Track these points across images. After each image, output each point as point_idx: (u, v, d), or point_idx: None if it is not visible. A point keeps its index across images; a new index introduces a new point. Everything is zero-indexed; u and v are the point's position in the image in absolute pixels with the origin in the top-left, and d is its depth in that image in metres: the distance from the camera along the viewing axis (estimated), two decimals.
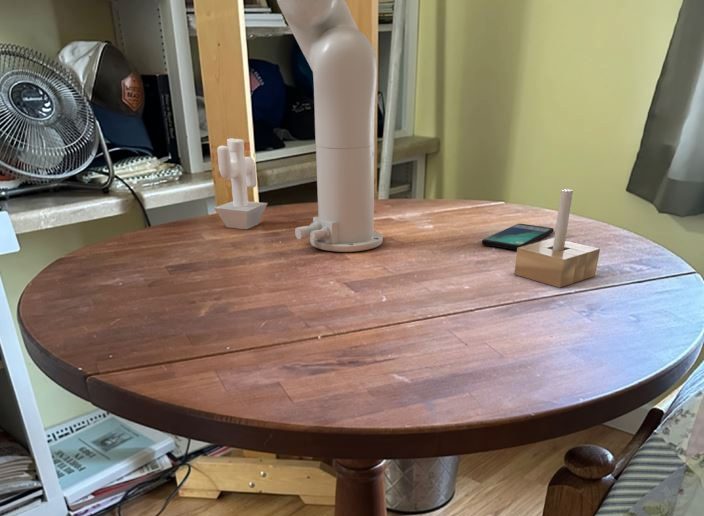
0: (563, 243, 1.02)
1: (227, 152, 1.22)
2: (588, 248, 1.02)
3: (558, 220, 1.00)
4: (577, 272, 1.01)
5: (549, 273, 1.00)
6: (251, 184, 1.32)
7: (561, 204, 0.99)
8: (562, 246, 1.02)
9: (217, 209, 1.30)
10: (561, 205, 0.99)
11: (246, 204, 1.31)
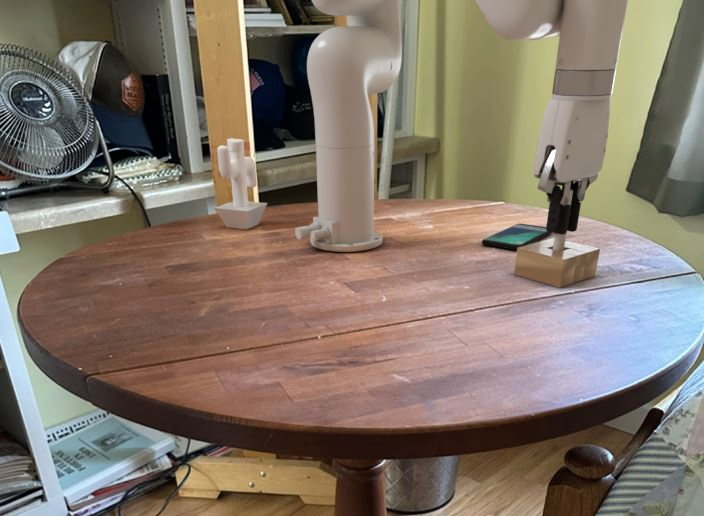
0: (563, 243, 1.02)
1: (227, 152, 1.22)
2: (588, 248, 1.02)
3: None
4: (577, 272, 1.01)
5: (549, 273, 1.00)
6: (251, 184, 1.32)
7: None
8: (562, 246, 1.02)
9: (217, 209, 1.30)
10: None
11: (246, 204, 1.31)
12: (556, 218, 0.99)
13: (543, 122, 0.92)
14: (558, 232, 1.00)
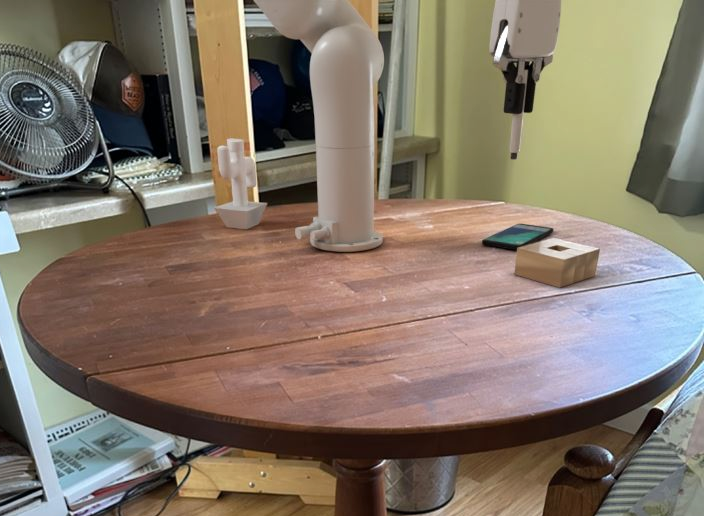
0: (521, 125, 1.06)
1: (227, 152, 1.22)
2: (588, 248, 1.02)
3: None
4: (577, 272, 1.01)
5: (549, 273, 1.00)
6: (251, 184, 1.32)
7: None
8: (519, 127, 1.06)
9: (217, 209, 1.30)
10: None
11: (246, 204, 1.31)
12: (512, 97, 1.03)
13: None
14: (514, 112, 1.04)
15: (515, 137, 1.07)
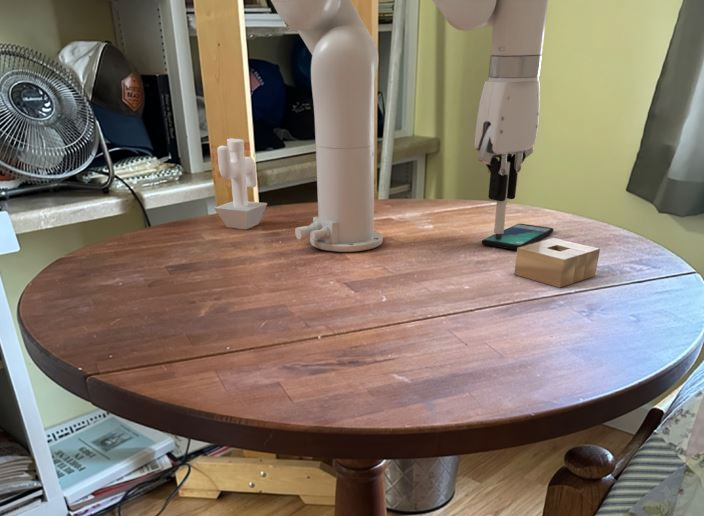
0: (504, 210, 1.15)
1: (227, 152, 1.22)
2: (588, 248, 1.02)
3: None
4: (577, 272, 1.01)
5: (549, 273, 1.00)
6: (251, 184, 1.32)
7: None
8: (503, 212, 1.16)
9: (217, 209, 1.30)
10: None
11: (246, 204, 1.31)
12: (496, 187, 1.13)
13: (480, 101, 1.06)
14: (498, 199, 1.14)
15: (499, 220, 1.16)
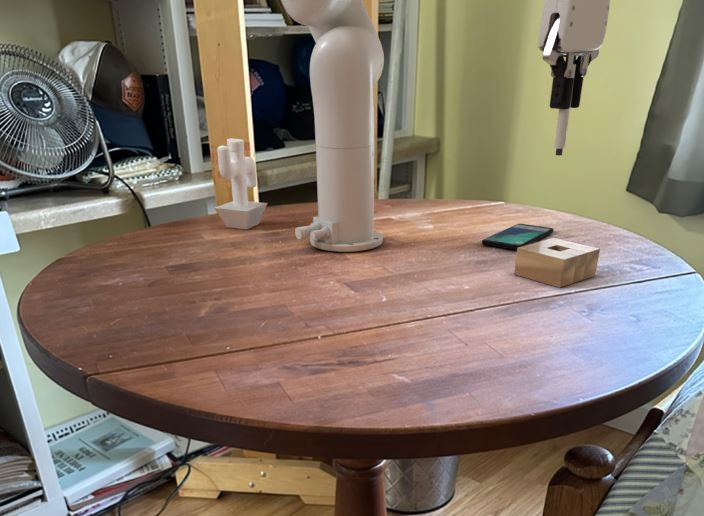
0: (567, 120, 1.04)
1: (227, 152, 1.22)
2: (588, 248, 1.02)
3: None
4: (577, 272, 1.01)
5: (549, 273, 1.00)
6: (251, 184, 1.32)
7: None
8: (566, 123, 1.04)
9: (217, 209, 1.30)
10: None
11: (246, 204, 1.31)
12: (560, 92, 1.01)
13: None
14: (561, 107, 1.03)
15: (561, 133, 1.05)
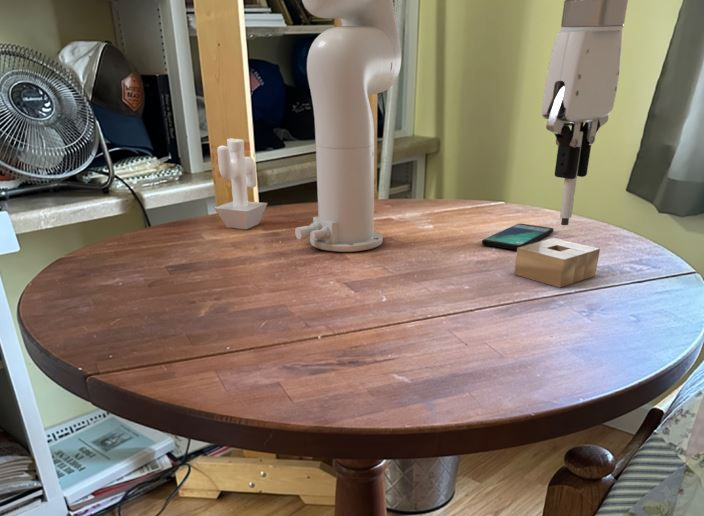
0: (574, 189, 0.97)
1: (227, 152, 1.22)
2: (588, 248, 1.02)
3: None
4: (577, 272, 1.01)
5: (549, 273, 1.00)
6: (251, 184, 1.32)
7: None
8: (572, 192, 0.97)
9: (217, 209, 1.30)
10: None
11: (246, 204, 1.31)
12: (565, 161, 0.94)
13: (552, 57, 0.88)
14: (567, 177, 0.96)
15: (567, 202, 0.98)
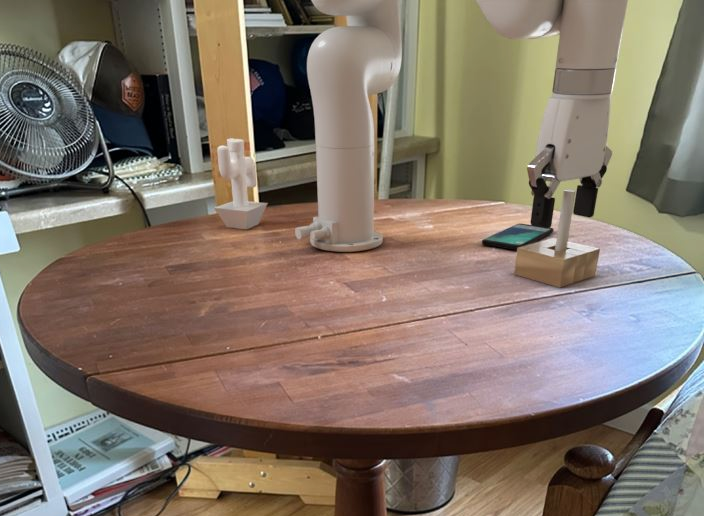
0: (566, 244, 1.01)
1: (227, 152, 1.22)
2: (588, 248, 1.02)
3: (560, 220, 1.00)
4: (577, 272, 1.01)
5: (549, 273, 1.00)
6: (251, 184, 1.32)
7: (563, 204, 0.98)
8: (564, 246, 1.01)
9: (217, 209, 1.30)
10: (563, 205, 0.99)
11: (246, 204, 1.31)
12: (540, 212, 0.96)
13: (543, 121, 0.92)
14: (542, 226, 0.97)
15: None
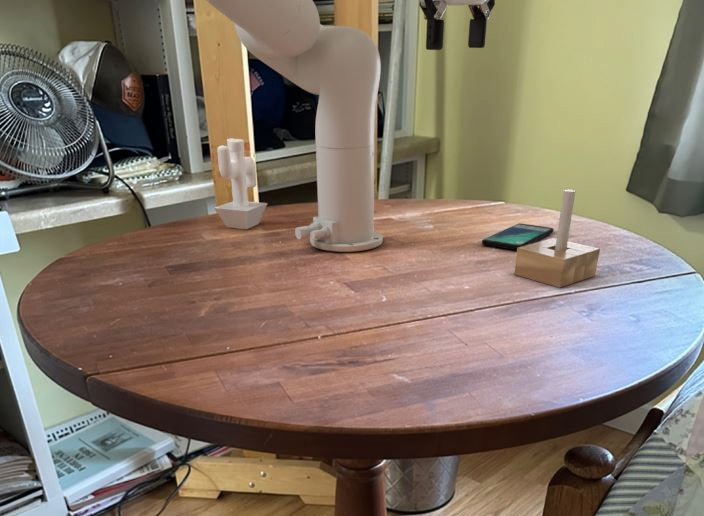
0: (566, 244, 1.01)
1: (227, 152, 1.22)
2: (588, 248, 1.02)
3: (560, 220, 1.00)
4: (577, 272, 1.01)
5: (549, 273, 1.00)
6: (251, 184, 1.32)
7: (563, 204, 0.98)
8: (564, 246, 1.01)
9: (217, 209, 1.30)
10: (563, 205, 0.99)
11: (246, 204, 1.31)
12: (432, 33, 1.09)
13: None
14: (435, 48, 1.11)
15: None
